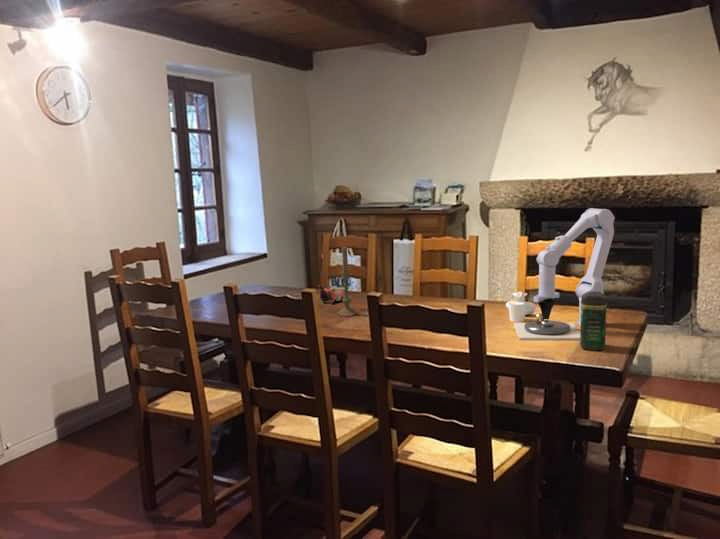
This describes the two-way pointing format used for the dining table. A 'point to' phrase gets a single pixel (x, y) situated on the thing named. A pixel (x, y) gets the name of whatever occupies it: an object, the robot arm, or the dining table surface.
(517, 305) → the white cylinder
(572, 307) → the dining table surface
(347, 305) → the candlestick holder
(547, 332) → the handwheel
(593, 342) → the coffee jar
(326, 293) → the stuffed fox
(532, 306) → the bust
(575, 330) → the wheel base
